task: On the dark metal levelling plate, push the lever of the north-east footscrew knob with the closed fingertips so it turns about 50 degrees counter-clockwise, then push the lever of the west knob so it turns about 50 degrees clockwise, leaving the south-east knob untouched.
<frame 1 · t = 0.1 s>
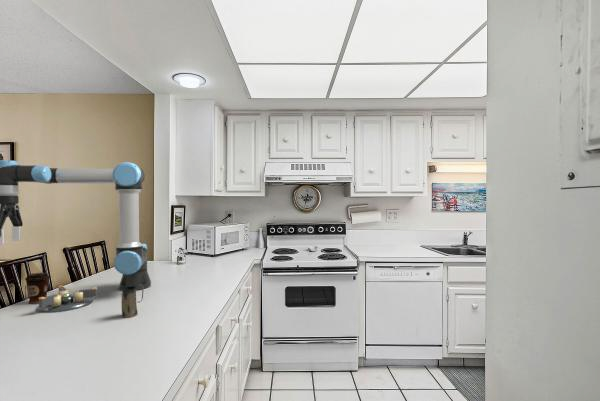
hand: (8, 242, 146), 28 cm above the countertop, fingers open, 13 cm apart
coffee cup: (37, 302, 149), on the countertop
tribrach plate: (66, 304, 145), on the countertop
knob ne: (50, 301, 138), point 4 cm above the countertop, hinge at 0.0°
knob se: (62, 292, 150), point 4 cm above the countertop, hinge at 0.0°
mug: (132, 315, 131), on the countertop
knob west: (85, 294, 147), point 4 cm above the countertop, hinge at 0.0°
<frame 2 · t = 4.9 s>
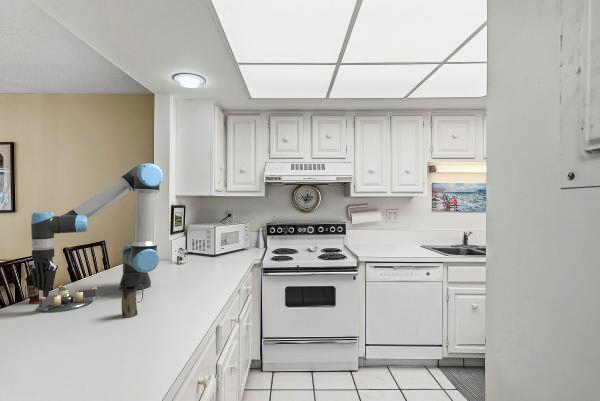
hand: (43, 304, 137), 3 cm above the countertop, fingers closed
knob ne: (50, 301, 138), point 4 cm above the countertop, hinge at 1.0°, touching gripper
everything else where it was.
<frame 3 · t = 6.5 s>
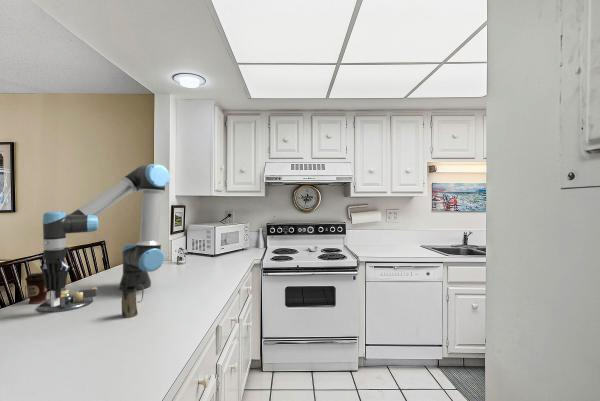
hand: (55, 305, 135), 3 cm above the countertop, fingers closed
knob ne: (58, 300, 139), point 4 cm above the countertop, hinge at 71.0°, touching gripper
everything else where it was.
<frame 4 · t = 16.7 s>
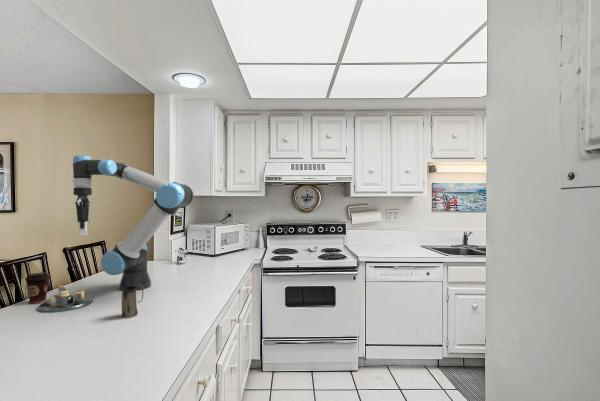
hand: (83, 234, 161), 29 cm above the countertop, fingers closed
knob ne: (59, 300, 139), point 4 cm above the countertop, hinge at 78.4°
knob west: (79, 296, 145), point 4 cm above the countertop, hinge at -74.4°
everything else where it was.
at the end: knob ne at +78° (first picture: +0°); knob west at -74° (first picture: +0°); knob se at +0° (first picture: +0°) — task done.
